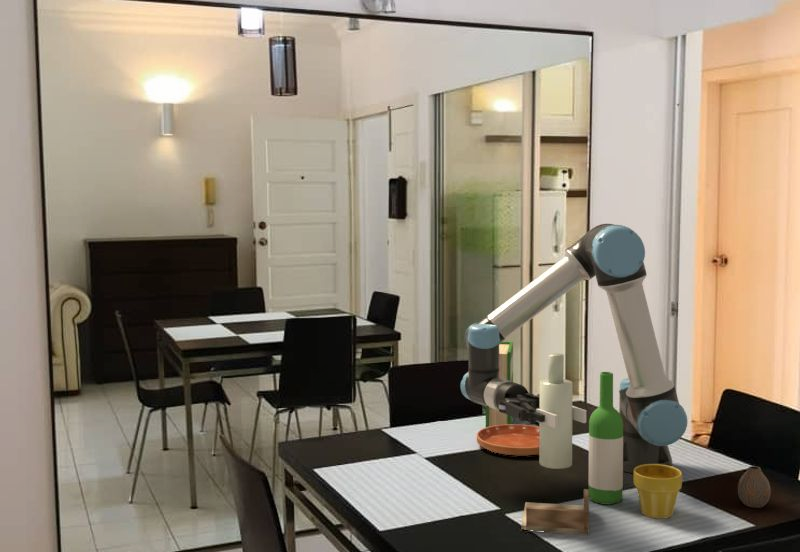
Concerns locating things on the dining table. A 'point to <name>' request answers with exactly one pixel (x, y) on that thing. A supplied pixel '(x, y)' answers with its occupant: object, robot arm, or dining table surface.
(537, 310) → the robot arm
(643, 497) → the plant pot
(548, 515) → the dock
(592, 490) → the wine bottle
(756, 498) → the vase
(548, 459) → the bottle
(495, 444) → the saucer
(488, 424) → the hardback book
